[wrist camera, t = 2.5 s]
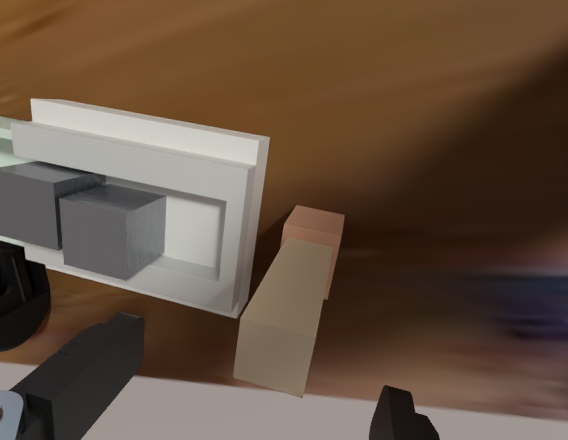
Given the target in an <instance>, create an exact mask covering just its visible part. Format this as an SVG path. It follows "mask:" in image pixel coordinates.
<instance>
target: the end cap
mask: <svg viewBox="0 0 568 440" xmlns="http://www.w3.org/2000/svg"><path fill="white" fill-rule="evenodd" d="M49 294H50V287H49V281H48V277H47V273H46V269H45V265H44V264H42V263H38V262H35V261H31V260H27V259H26V258H25V249H24V246H20V245H16V244H12V243H8V242H4V241H0V352H3V351H8V350H11V349H13V348H16V347H17V346H19V345H21V344H23V343H24V342H25V341H27V340H28V339H29V338H30V337H31V336H32V335H33V334H34V333H35V332H36V330H37V329H38V328H39V326H40V325H41V323H42V321H43V319H44V317H45V314H46V311H47V306H48V297H49Z"/></svg>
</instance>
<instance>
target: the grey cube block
mask: <svg viewBox="0 0 568 440" xmlns="http://www.w3.org/2000/svg"><path fill="white" fill-rule="evenodd" d="M166 198H167V196H165V195H161V194H156V193H152V192H147V191H142V190H138V189H133V188H129V187H124V186H119V185H115V184H106V185H103V186H99V187H96V188H93V189H89V190H86V191H82V192H79V193H76V194H72V195H69V196H65V197H62V198H59V202H60V216H61V230H62V244H63V258H64V265H68V266H72V267H76V268H80V269H83V270H87V271H91V272H95V273H99V274H102V275H106V276H110V277H114V278H118V279H121V280H125V281H127V280H128V279H129V278H131V277H132V276H133V275H135V274H136V273H138V272H139V271H140V270H142V269H143V268H144V267H146V266H147V265H149V264H150V263H151V262H153V261H154V260H155V259H157V258H158V257H159V256H161V255H162V254H164V250H165V224H166Z"/></svg>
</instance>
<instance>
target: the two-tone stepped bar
mask: <svg viewBox="0 0 568 440" xmlns="http://www.w3.org/2000/svg"><path fill="white" fill-rule="evenodd" d="M344 217H345V215H342V214H337V213H333V212H328V211H323V210H318V209H313V208H309V207H304V206H299V205H296V207H295V208H294V210H293V211H292V213H291V214H290V216H289V217H288V219H287V220H286V222H285V223H284V228H283V234H282V240H281V246H280V250H279V252H278V254H277V256H276V257H275V259H274V261H273V263H272V264H271V266H270V268H269V269H268V271H267V273H266V275H265V276H264V278H263V280H262V282H261V283H260V285H259V287H258V289H257V290H256V292H255V294H254V296H253V297H252V299H251V301H250V302H249V304H248V306H247V308H246V309H245V311H244V313H243V315H242V316H241V319H240V327H239V334H238V342H237V349H236V357H235V365H234V372H233V378H236V379H239V380H243V381H246V382H250V383H253V384H256V385H260V386H263V387H266V388H270V389H273V390H277V391H280V392H283V393H287V394H290V395H294V396H297V397H301V398H303V393H304V389H305V384H306V380H307V375H308V371H309V366H310V362H311V357H312V353H313V348H314V344H315V340H316V335H317V330H318V324H319V319H320V314H321V309H322V304H323V299H326V300H327V299H328V295H329V290H330V286H331V281H332V277H333V273H334V268H335V264H336V259H337V255H338V251H339V246H340V242H341V237H342V231H343V224H344Z"/></svg>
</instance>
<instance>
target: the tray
mask: <svg viewBox="0 0 568 440" xmlns="http://www.w3.org/2000/svg"><path fill="white" fill-rule="evenodd" d="M10 122H26V121H21V120H16V119H11V118H6V117H1V116H0V167H4V166H10V165H16V164H23V163H29V162H35V161H36V160H33V159H28V158H24V157H19V156H15V155H14V150H13V141H12V133H11V124H10ZM0 241H4V242H8V243H12V244H16V245H20V246H24V242H23V241H19V240H15V239H11V238H7V237H3V236H0Z"/></svg>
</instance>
